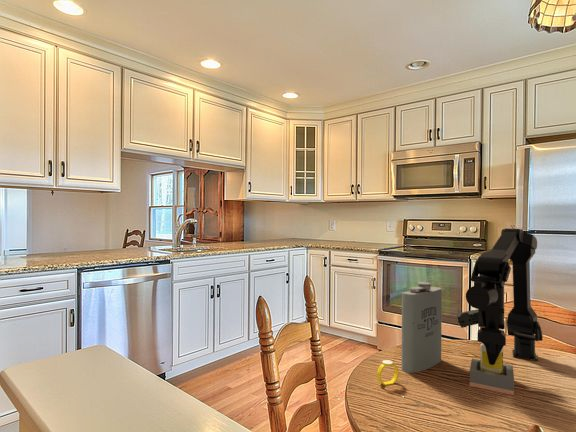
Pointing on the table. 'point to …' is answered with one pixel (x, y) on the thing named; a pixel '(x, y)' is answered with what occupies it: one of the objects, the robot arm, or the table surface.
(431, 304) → the flask
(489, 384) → the socket block
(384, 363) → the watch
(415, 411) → the table surface
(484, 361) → the supplement bottle
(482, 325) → the robot arm
